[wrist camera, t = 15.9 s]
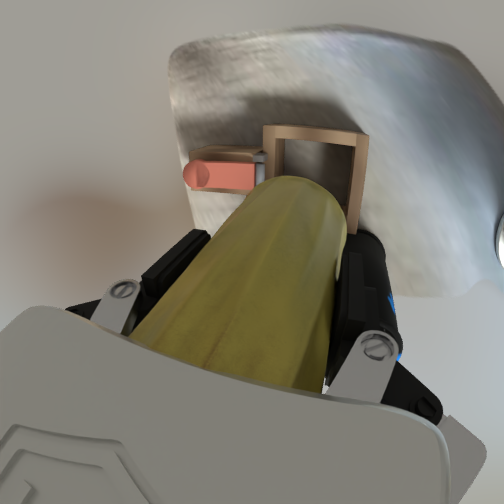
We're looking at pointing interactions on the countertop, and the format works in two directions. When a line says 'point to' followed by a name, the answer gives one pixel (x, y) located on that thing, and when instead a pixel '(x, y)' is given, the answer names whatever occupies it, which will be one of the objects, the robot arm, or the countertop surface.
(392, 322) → the aerosol can
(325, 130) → the block
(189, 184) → the keeper bar
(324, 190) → the vase
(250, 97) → the countertop surface
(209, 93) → the countertop surface
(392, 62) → the countertop surface
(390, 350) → the robot arm
